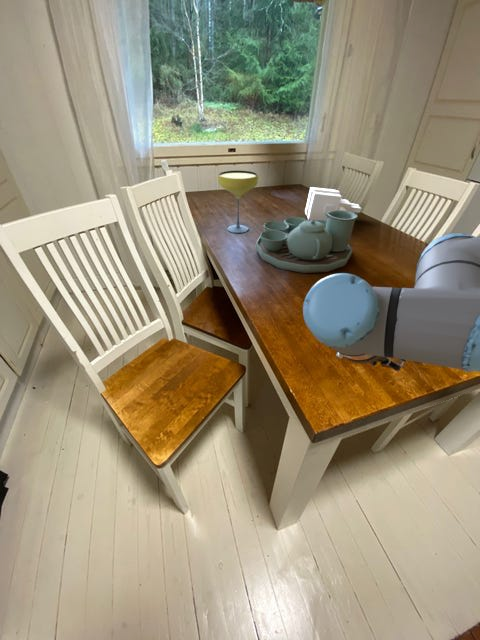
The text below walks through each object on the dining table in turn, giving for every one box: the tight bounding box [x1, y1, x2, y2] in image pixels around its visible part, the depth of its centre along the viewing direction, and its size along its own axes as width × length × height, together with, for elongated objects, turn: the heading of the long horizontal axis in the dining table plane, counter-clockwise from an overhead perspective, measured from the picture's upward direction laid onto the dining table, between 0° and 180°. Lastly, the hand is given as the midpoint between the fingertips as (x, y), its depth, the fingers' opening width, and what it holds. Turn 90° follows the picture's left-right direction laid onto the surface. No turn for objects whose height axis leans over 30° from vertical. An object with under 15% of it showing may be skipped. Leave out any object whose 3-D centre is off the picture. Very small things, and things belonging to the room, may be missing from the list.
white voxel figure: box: [304, 186, 362, 221], centre depth 148 cm, size 15×25×28 cm
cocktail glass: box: [217, 170, 259, 234], centre depth 130 cm, size 18×18×25 cm
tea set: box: [255, 210, 358, 274], centre depth 112 cm, size 40×40×16 cm
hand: (374, 357), depth 59 cm, fingers closed
